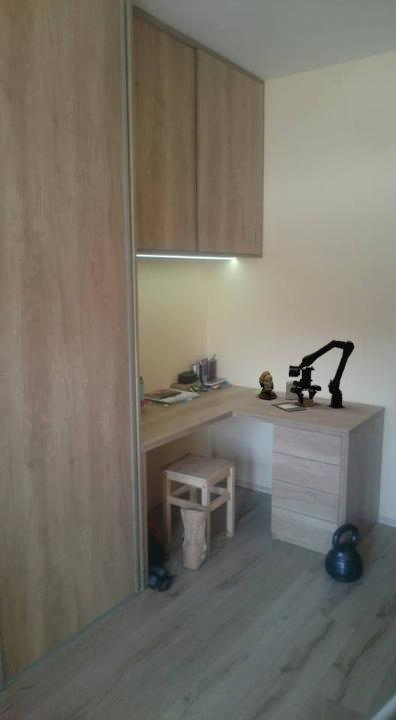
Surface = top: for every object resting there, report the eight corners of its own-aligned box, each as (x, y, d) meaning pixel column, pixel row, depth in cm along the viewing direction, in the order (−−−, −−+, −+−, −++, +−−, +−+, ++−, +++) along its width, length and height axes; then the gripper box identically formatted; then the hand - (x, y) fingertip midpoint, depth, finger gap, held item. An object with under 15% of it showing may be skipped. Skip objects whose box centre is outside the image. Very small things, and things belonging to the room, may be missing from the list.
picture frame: (306, 409, 300) (306, 408, 299) (288, 412, 295) (288, 410, 294) (288, 402, 316) (288, 401, 316) (271, 404, 311) (271, 403, 311)
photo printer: (300, 397, 328) (301, 378, 326) (302, 399, 324) (303, 379, 322) (284, 398, 327) (285, 378, 325) (286, 399, 323) (287, 380, 321)
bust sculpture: (279, 400, 322) (279, 373, 319) (260, 400, 322) (260, 373, 319) (275, 393, 339) (275, 368, 336) (257, 394, 339) (257, 368, 337)
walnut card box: (313, 406, 308) (313, 399, 307) (305, 407, 305) (306, 400, 305) (305, 403, 315) (305, 396, 314) (297, 404, 312) (298, 397, 312)
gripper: (310, 373, 318) (310, 398, 321) (285, 376, 311) (284, 402, 313) (322, 377, 309) (321, 402, 311) (296, 379, 301) (295, 406, 303)
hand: (305, 403), depth 310 cm, fingers open, 6 cm apart
